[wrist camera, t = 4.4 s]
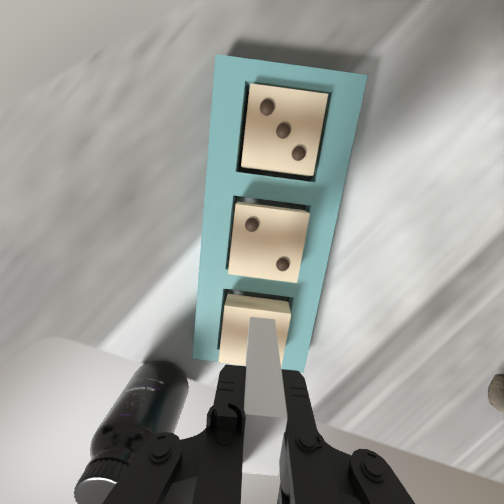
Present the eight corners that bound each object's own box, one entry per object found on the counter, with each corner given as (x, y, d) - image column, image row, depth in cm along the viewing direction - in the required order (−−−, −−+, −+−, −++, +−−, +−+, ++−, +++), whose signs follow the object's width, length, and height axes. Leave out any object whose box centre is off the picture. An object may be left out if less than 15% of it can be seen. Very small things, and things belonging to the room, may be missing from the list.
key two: (293, 272, 24) (297, 283, 22) (230, 264, 24) (227, 274, 22) (304, 210, 23) (310, 214, 20) (238, 201, 23) (235, 204, 20)
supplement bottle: (161, 348, 30) (99, 452, 18) (201, 385, 31) (167, 505, 20) (122, 379, 31) (42, 494, 20) (162, 413, 32) (109, 541, 21)
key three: (307, 176, 23) (313, 175, 21) (242, 167, 23) (240, 165, 21) (320, 103, 22) (328, 93, 19) (251, 94, 22) (250, 82, 19)
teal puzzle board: (299, 357, 30) (303, 372, 27) (197, 344, 30) (192, 358, 27) (356, 86, 22) (367, 74, 20) (220, 68, 22) (215, 54, 20)
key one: (278, 353, 27) (280, 371, 24) (222, 345, 27) (218, 363, 24) (288, 301, 25) (291, 315, 23) (227, 293, 25) (224, 306, 22)
